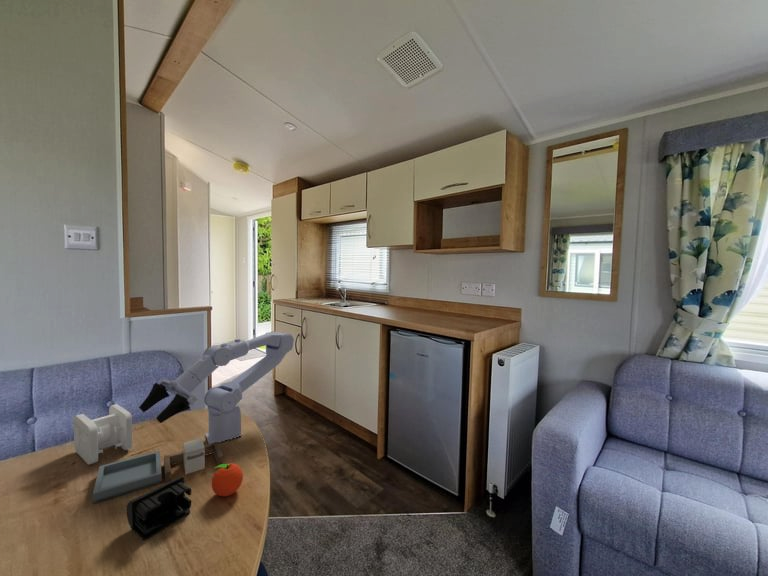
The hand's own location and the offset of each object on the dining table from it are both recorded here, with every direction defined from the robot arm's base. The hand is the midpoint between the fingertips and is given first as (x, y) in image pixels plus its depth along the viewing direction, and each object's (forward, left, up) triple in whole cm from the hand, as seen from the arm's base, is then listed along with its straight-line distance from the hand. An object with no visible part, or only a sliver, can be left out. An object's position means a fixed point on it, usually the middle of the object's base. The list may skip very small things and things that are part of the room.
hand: (149, 415), depth 86 cm
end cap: (-2, +23, -15) cm, 28 cm away
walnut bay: (-10, +5, -15) cm, 19 cm away
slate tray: (+4, +2, -15) cm, 16 cm away
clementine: (-15, +22, -15) cm, 31 cm away
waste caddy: (-10, +5, -15) cm, 19 cm away
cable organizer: (+11, -18, -15) cm, 26 cm away
